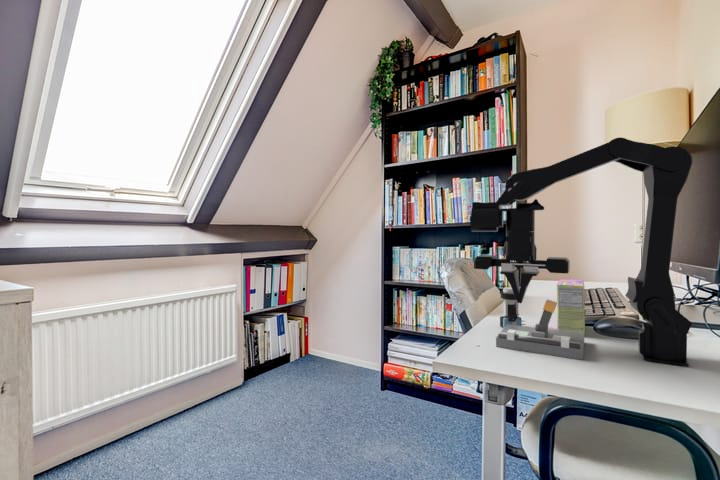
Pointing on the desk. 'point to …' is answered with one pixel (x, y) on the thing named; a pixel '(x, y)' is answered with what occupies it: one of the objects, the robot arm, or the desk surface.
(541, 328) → the lever
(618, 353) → the desk surface
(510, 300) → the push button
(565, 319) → the box
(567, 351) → the breaker panel
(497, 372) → the desk surface
